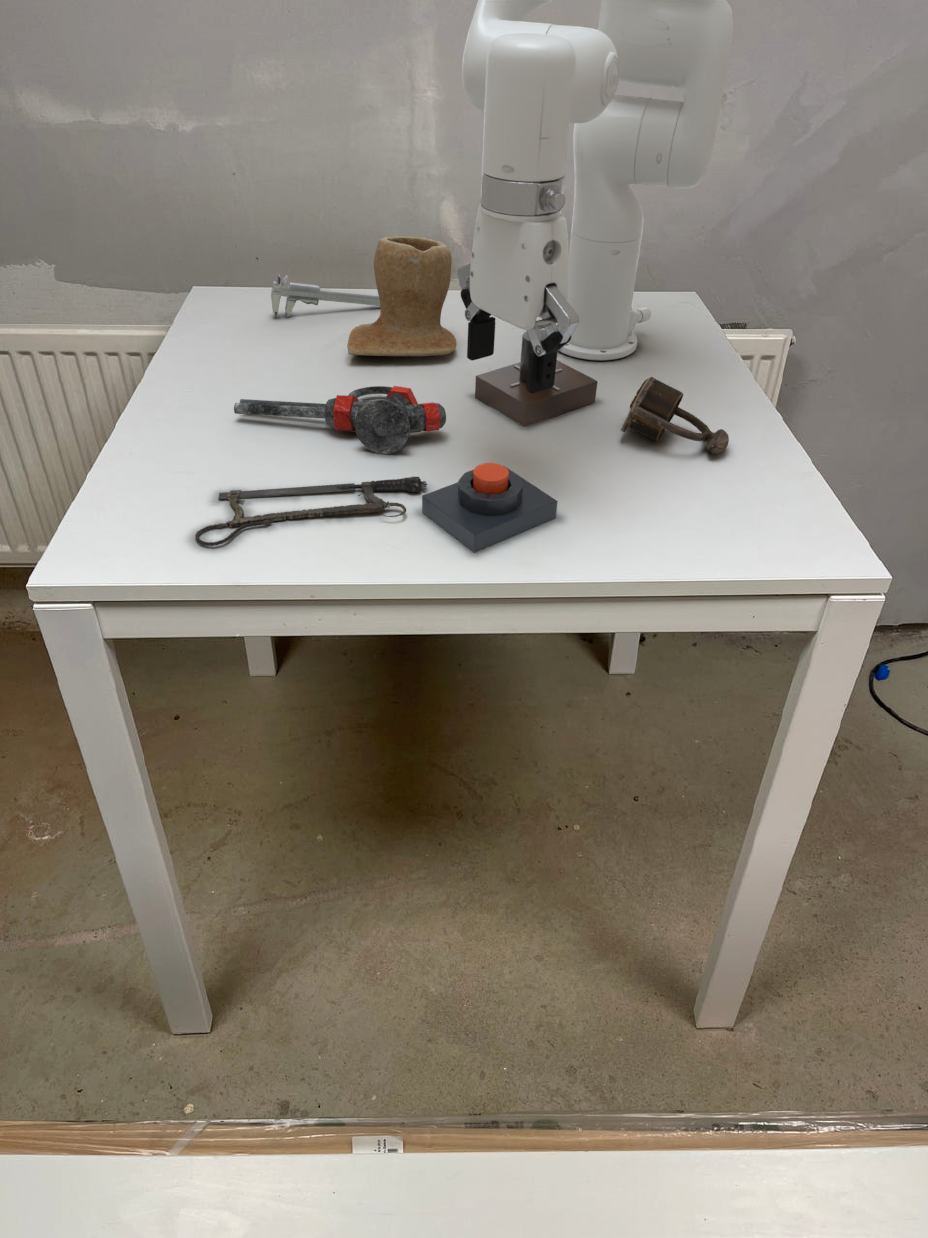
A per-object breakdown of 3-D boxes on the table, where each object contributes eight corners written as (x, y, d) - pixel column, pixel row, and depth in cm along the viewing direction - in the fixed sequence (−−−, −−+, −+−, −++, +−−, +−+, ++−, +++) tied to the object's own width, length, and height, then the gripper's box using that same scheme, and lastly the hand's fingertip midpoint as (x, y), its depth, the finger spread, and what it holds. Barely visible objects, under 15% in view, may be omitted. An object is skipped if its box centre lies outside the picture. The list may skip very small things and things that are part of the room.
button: (493, 473, 95) (493, 459, 93) (514, 488, 92) (516, 473, 91) (466, 484, 93) (466, 469, 92) (487, 499, 91) (488, 484, 90)
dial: (561, 379, 114) (565, 335, 110) (535, 388, 112) (538, 343, 108) (538, 367, 117) (541, 323, 113) (512, 375, 115) (515, 331, 111)
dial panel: (544, 374, 122) (546, 352, 120) (595, 402, 116) (598, 379, 114) (474, 397, 116) (475, 374, 114) (524, 427, 110) (526, 403, 108)
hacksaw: (426, 484, 99) (426, 472, 99) (435, 537, 92) (435, 524, 91) (203, 494, 97) (201, 482, 96) (193, 549, 89) (191, 536, 88)
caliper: (274, 319, 135) (269, 276, 131) (273, 316, 136) (268, 274, 132) (405, 306, 140) (404, 265, 136) (403, 303, 141) (402, 263, 137)
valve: (460, 418, 116) (437, 459, 103) (268, 406, 119) (223, 444, 107) (460, 369, 112) (437, 405, 100) (263, 358, 116) (216, 391, 103)
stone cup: (453, 332, 133) (455, 225, 123) (458, 365, 124) (461, 253, 114) (350, 332, 132) (344, 225, 122) (347, 366, 123) (341, 253, 113)
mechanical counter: (660, 368, 112) (612, 373, 105) (751, 393, 104) (706, 400, 98) (648, 425, 115) (601, 433, 108) (735, 453, 107) (691, 464, 101)
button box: (502, 482, 100) (504, 450, 98) (556, 518, 95) (559, 485, 92) (421, 513, 95) (421, 480, 92) (474, 553, 90) (475, 519, 87)
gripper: (617, 211, 79) (593, 394, 89) (494, 171, 89) (485, 339, 100) (553, 222, 75) (536, 412, 86) (433, 179, 86) (431, 352, 96)
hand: (509, 372), depth 93 cm, fingers open, 9 cm apart
